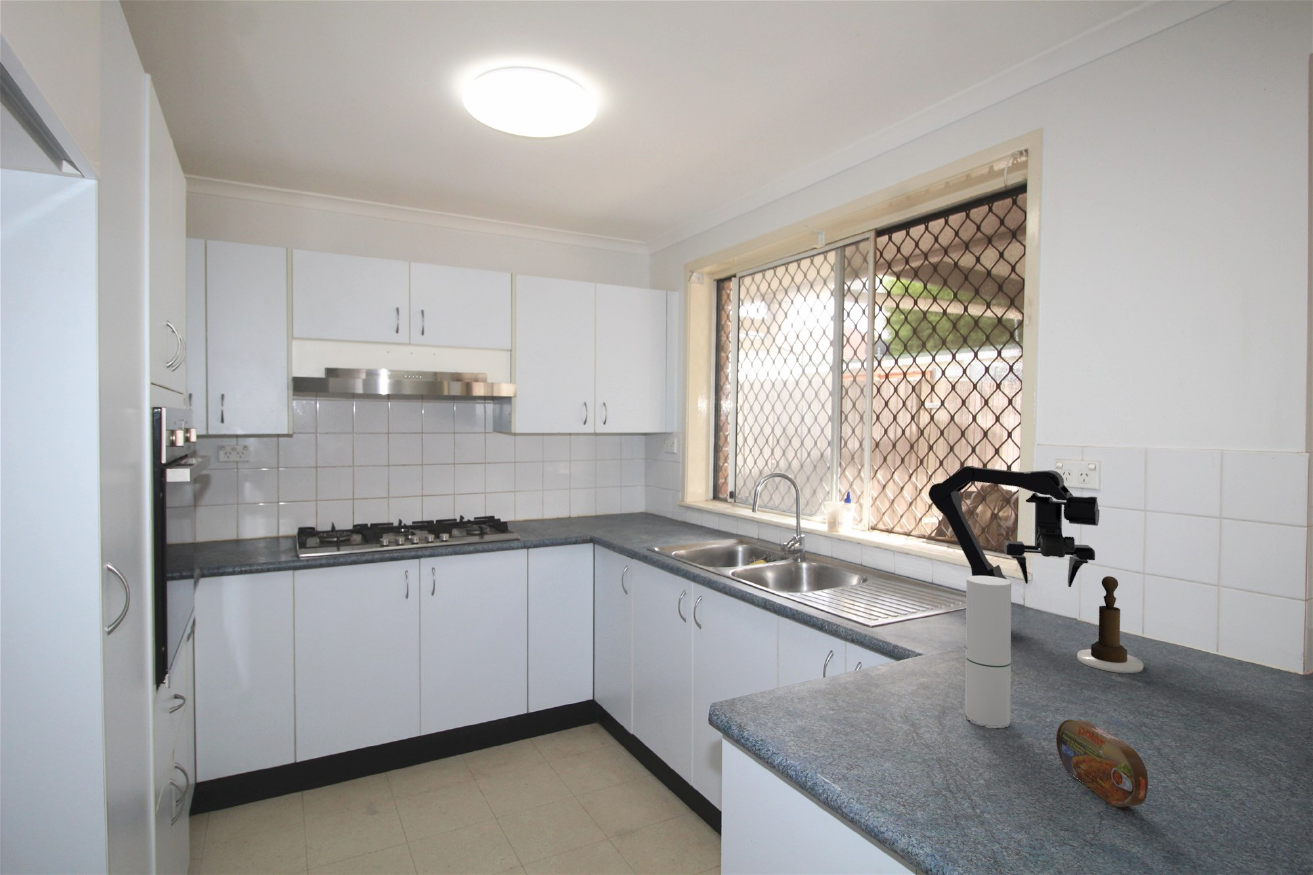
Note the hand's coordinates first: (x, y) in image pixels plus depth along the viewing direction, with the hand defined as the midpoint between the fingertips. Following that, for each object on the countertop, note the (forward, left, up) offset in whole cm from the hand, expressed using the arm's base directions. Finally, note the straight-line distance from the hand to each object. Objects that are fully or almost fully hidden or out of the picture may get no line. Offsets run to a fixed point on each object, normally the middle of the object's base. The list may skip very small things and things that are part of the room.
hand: (1047, 585), depth 164 cm
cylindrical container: (-18, -56, -13) cm, 60 cm away
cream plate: (+10, -15, -13) cm, 22 cm away
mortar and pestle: (+10, -15, -12) cm, 21 cm away
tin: (-5, -75, -13) cm, 76 cm away
